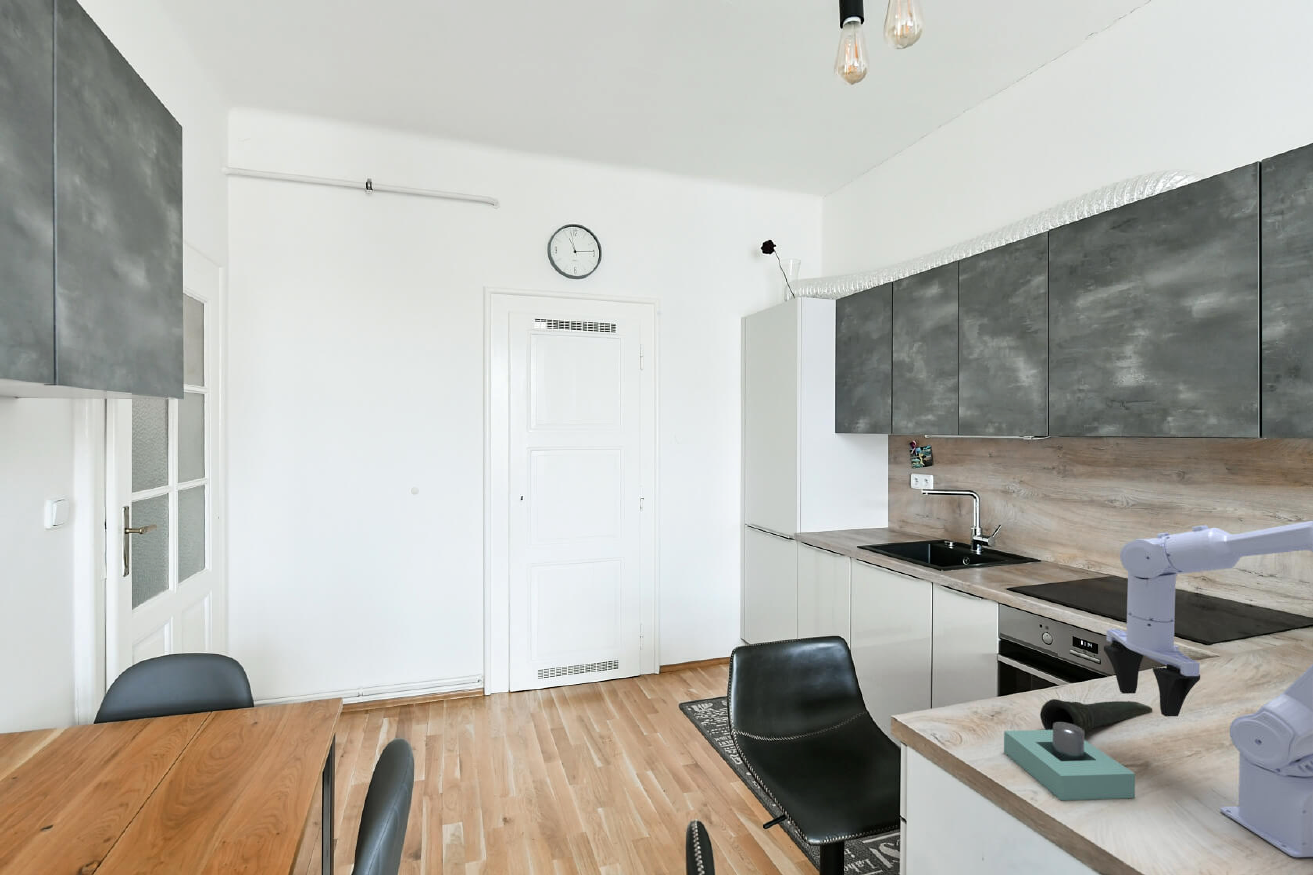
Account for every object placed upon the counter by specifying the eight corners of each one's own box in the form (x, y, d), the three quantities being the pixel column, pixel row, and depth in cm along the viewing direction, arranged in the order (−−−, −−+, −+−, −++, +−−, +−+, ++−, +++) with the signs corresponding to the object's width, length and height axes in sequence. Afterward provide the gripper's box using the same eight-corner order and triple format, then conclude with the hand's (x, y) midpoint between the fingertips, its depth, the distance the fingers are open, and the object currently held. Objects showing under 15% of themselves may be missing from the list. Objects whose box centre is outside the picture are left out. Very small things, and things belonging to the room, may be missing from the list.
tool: (1074, 750, 101) (1075, 710, 101) (1037, 731, 108) (1038, 694, 107) (1178, 722, 112) (1179, 686, 111) (1138, 707, 118) (1139, 672, 117)
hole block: (1134, 797, 88) (1135, 773, 88) (1060, 800, 87) (1061, 775, 87) (1068, 750, 101) (1068, 729, 101) (1004, 752, 100) (1004, 730, 100)
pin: (1089, 778, 93) (1090, 732, 93) (1070, 782, 91) (1072, 736, 91) (1063, 764, 97) (1065, 720, 96) (1045, 768, 95) (1047, 723, 95)
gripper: (1220, 631, 87) (1218, 726, 88) (1135, 602, 102) (1133, 683, 102) (1173, 632, 87) (1171, 726, 87) (1095, 602, 102) (1093, 683, 102)
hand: (1148, 703), depth 95 cm, fingers open, 7 cm apart
